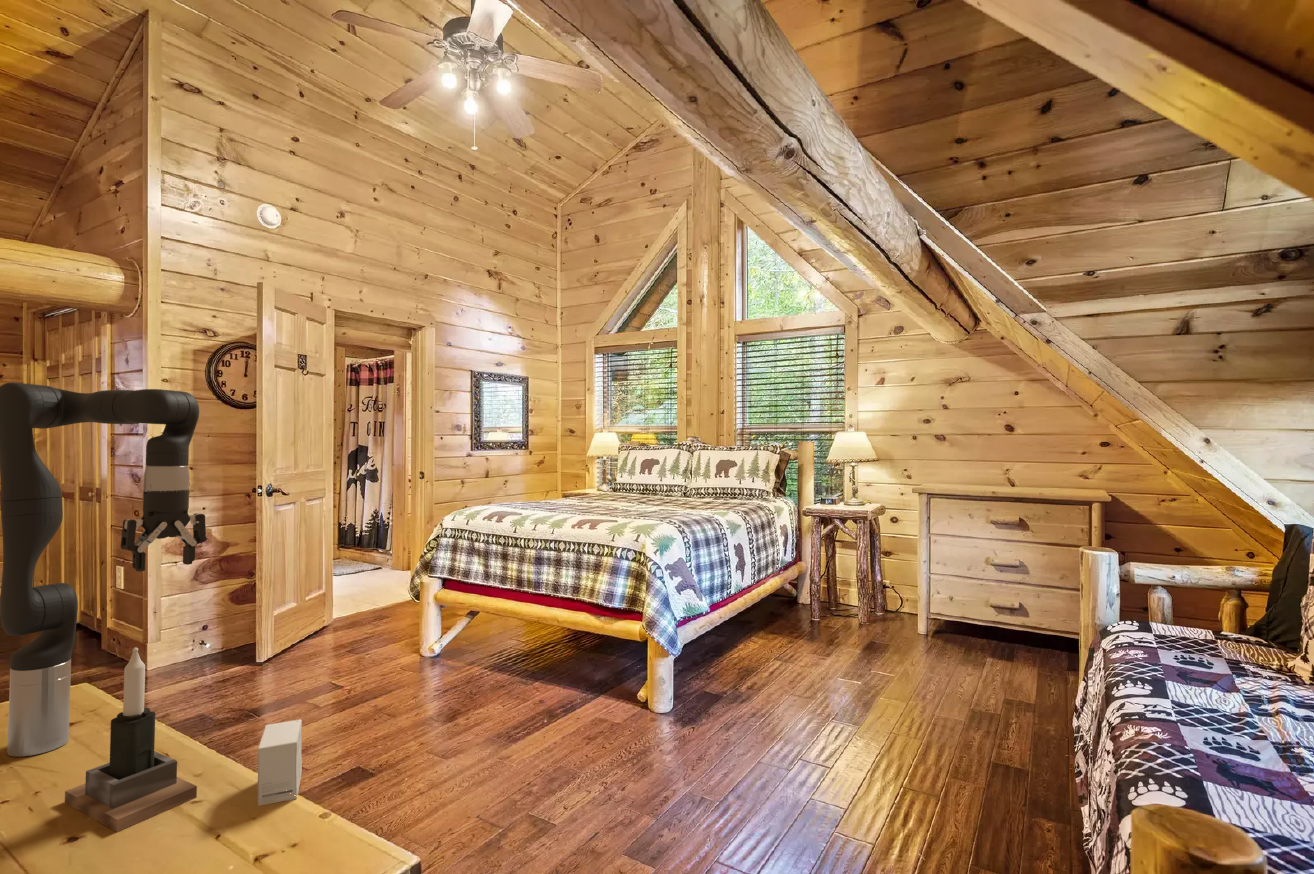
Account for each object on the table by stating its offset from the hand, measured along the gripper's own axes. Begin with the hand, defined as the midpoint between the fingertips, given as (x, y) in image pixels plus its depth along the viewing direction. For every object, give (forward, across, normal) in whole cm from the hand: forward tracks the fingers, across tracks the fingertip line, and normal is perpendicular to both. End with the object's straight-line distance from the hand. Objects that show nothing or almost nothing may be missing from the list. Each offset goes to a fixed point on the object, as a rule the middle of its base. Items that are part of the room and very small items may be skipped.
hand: (164, 567), depth 132 cm
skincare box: (+38, -4, +33) cm, 51 cm away
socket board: (+38, +11, +14) cm, 42 cm away
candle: (+36, +11, +14) cm, 40 cm away
